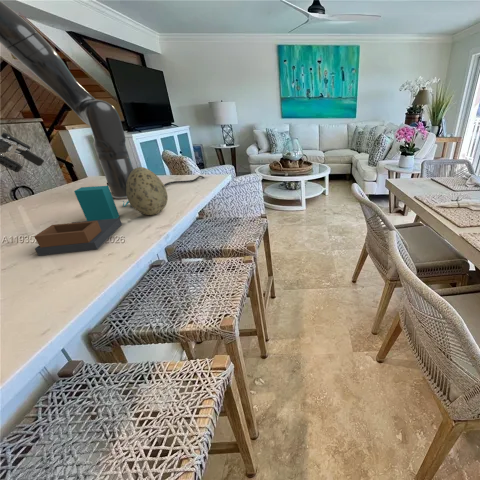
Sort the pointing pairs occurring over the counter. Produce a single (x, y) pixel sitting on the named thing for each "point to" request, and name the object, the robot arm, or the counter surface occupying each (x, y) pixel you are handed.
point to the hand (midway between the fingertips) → (31, 166)
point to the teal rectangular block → (97, 203)
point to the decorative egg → (146, 191)
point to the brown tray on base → (75, 236)
